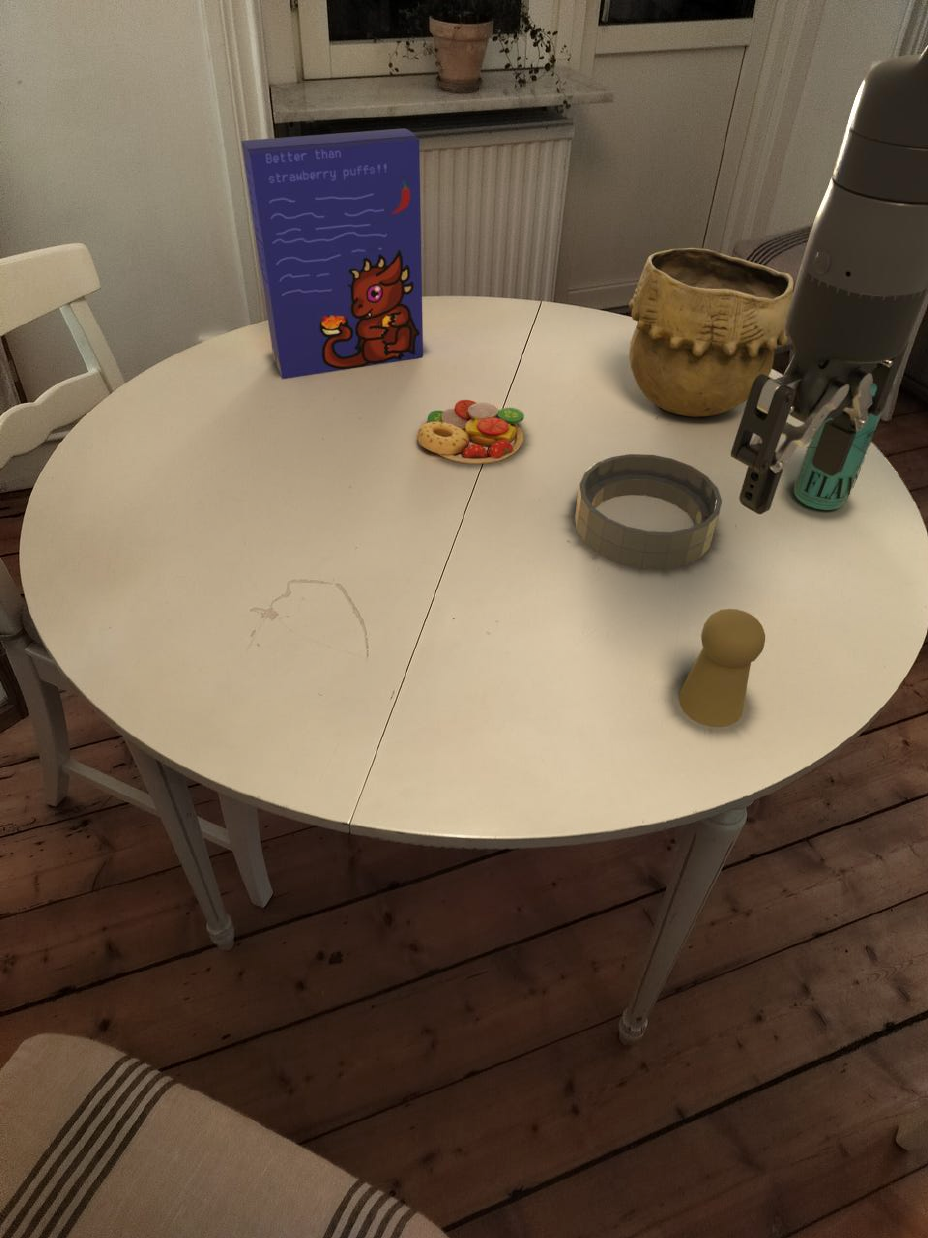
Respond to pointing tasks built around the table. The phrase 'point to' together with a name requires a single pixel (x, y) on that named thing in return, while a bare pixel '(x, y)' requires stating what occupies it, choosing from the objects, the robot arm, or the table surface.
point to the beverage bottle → (836, 489)
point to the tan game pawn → (722, 668)
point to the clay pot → (705, 329)
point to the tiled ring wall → (653, 481)
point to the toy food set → (472, 432)
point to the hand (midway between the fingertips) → (790, 488)
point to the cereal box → (339, 247)
